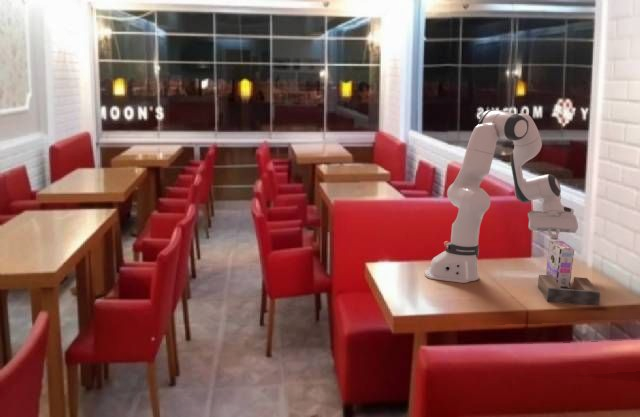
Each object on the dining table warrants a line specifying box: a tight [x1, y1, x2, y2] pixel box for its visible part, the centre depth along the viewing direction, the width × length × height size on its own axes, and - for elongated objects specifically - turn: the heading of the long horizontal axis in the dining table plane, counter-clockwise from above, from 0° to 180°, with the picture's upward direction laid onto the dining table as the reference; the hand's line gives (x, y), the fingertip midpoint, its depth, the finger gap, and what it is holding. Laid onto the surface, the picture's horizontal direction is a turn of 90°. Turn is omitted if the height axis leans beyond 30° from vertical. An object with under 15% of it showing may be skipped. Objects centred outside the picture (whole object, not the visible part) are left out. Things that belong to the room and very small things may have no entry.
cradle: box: [537, 274, 601, 306], centre depth 263 cm, size 19×19×5 cm
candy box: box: [545, 240, 575, 289], centre depth 278 cm, size 14×6×16 cm, turn 179°
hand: (554, 239), depth 289 cm, fingers closed
